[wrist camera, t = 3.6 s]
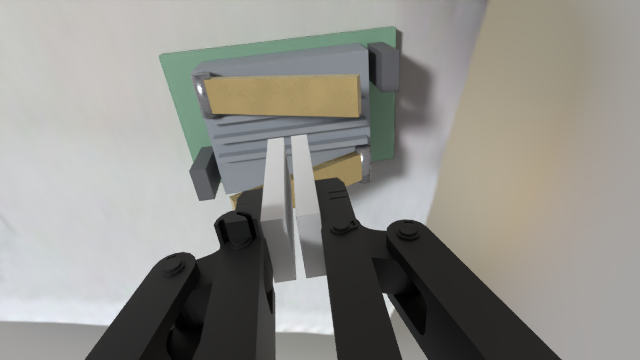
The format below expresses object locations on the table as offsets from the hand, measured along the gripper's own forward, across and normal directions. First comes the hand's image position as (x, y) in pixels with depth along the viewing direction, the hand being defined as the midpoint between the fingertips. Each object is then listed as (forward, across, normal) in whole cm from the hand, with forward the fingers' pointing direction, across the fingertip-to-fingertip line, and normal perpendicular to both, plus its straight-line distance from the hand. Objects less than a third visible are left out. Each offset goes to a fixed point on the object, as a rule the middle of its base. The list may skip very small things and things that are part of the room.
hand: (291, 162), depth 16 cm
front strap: (+13, -1, 0) cm, 13 cm away
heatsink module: (+22, 0, -4) cm, 23 cm away
